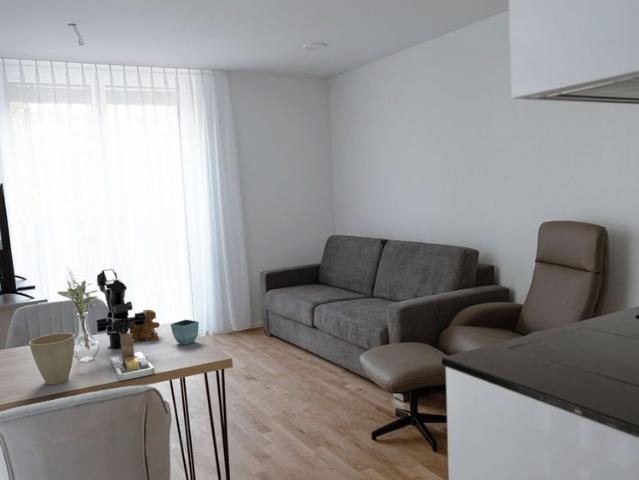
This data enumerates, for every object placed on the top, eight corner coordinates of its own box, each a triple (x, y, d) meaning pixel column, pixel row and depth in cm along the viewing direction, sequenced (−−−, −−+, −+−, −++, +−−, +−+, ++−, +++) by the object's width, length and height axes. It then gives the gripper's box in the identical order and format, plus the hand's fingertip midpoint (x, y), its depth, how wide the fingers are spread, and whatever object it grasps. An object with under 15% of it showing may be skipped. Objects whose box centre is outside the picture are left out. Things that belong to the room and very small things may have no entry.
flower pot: (184, 347, 237) (183, 326, 236) (171, 344, 242) (169, 324, 241) (200, 341, 244) (199, 321, 243) (187, 338, 249) (186, 319, 248)
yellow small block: (125, 367, 211) (125, 359, 210) (136, 365, 212) (136, 357, 212) (127, 371, 206) (127, 363, 206) (139, 369, 208) (138, 361, 208)
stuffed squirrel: (160, 340, 250) (157, 311, 248) (127, 343, 246) (124, 314, 245) (161, 334, 259) (158, 306, 258) (129, 337, 256) (126, 309, 255)
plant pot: (85, 372, 211) (81, 331, 209) (69, 387, 196) (64, 343, 194) (45, 375, 210) (40, 334, 209) (26, 389, 196) (21, 345, 194)
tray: (116, 376, 205) (116, 368, 204) (150, 369, 210) (149, 361, 210) (120, 383, 197) (119, 375, 197) (154, 376, 202) (154, 368, 202)
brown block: (122, 361, 218) (119, 334, 217) (133, 359, 220) (130, 332, 219) (125, 367, 211) (122, 339, 210) (136, 365, 213) (133, 337, 212)
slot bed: (110, 362, 221) (109, 357, 221) (141, 356, 226) (141, 351, 226) (116, 376, 205) (116, 370, 204) (150, 369, 210) (149, 363, 210)
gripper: (93, 299, 219) (99, 332, 211) (142, 292, 228) (150, 324, 219) (93, 315, 227) (99, 348, 218) (141, 308, 235) (148, 339, 227)
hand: (124, 339), depth 220 cm, fingers closed
